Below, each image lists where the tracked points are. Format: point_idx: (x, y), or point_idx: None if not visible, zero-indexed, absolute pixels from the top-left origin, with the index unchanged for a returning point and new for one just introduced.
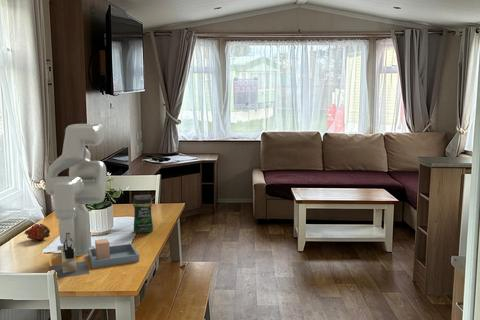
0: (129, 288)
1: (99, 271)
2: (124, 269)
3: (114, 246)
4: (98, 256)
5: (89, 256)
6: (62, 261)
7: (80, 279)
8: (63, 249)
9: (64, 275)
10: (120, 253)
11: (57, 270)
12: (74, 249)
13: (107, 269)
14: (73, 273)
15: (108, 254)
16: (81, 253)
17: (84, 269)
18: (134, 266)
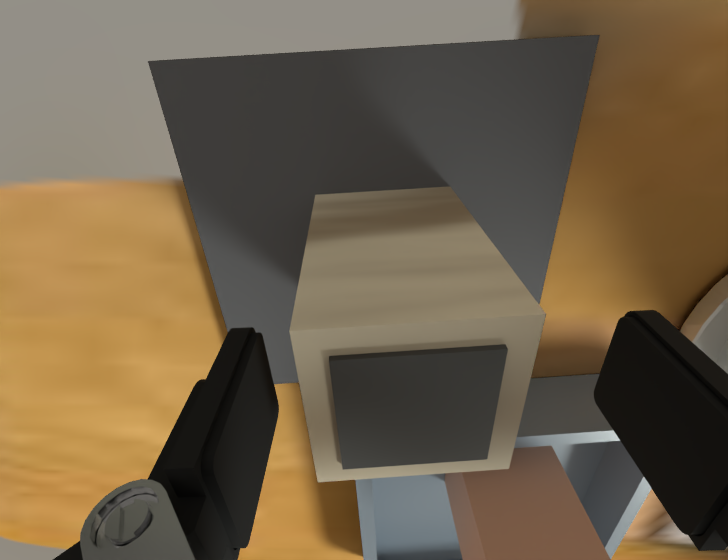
0: (7, 523)
1: (305, 421)
2: (294, 514)
3: (605, 542)
4: (460, 476)
5: (571, 403)
6: (305, 253)
7: (173, 319)
8: (489, 355)
9: (237, 207)
10: None
11: (411, 134)
12: (415, 472)
13: None
14: (271, 283)
15: (455, 523)
16: (719, 345)
17: None
18: (323, 544)
